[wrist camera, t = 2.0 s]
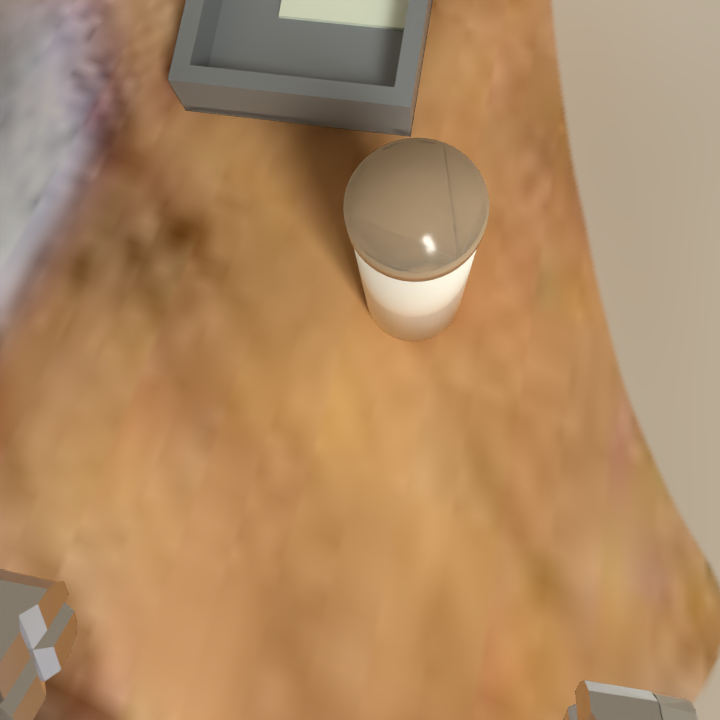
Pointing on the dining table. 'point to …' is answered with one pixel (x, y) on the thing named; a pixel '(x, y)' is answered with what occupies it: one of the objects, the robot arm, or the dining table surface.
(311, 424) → the dining table surface
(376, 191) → the tube
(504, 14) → the dining table surface
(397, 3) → the tray
